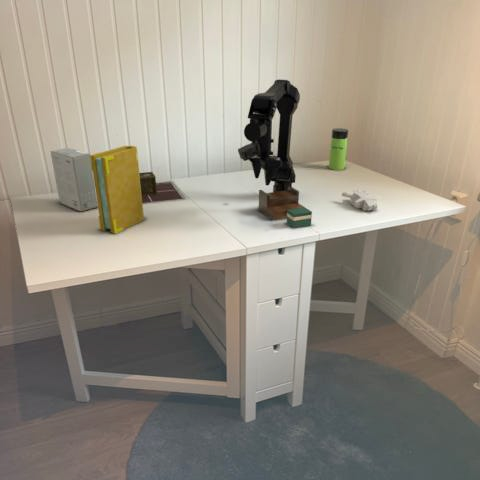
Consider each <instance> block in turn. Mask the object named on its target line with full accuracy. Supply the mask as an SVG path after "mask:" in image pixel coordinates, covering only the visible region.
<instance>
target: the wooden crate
mask: <svg viewBox="0 0 480 480" xmlns="http://www.w3.org/2000/svg"><path fill="white" fill-rule="evenodd" d="M139 175H140V184H141V194H142V197H144V196H154V195H157V194H158V189H157V183H158V182H157V179H156V177H157V176H156V175H155V174H154V172H153V171H146V172H139Z"/></svg>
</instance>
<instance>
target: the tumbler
mask: <svg viewBox="0 0 480 480" xmlns="http://www.w3.org/2000/svg"><path fill="white" fill-rule="evenodd" d="M348 137H349V129H347V128H342V127H341V128H340V127H336V128H332V129H331V139H330V147H329V148H330V149H329V150H330V151H329V160H328V161H329V162H328V169H330V170H333V171H342V170H344V169H345V167H346V166H345V165H346V156H347V147H348V146H347V145H348Z"/></svg>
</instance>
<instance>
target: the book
mask: <svg viewBox="0 0 480 480" xmlns="http://www.w3.org/2000/svg"><path fill="white" fill-rule="evenodd" d="M138 155H139V154H138V147H137V146H136V145H123V146H118V147H116V148H112V149H108V150H105V151H101V152H96V153H93V154H90V162H91V168H92V172H93V178H94V185H95V192H96V198H97V206H98V207H97V209H98V221H99V228H100V231H103V232H106V231H108V230H110V234H113V235H115V234H118V233H120V232H123V231H124V230H126V229H127V228H129V227H132V226H133V225H136V224H139V223H141V222H143V221H144V220H145V215H144V205H143V204H144V203H142V194H141V184H140V175H139V173H140V165H139V156H138Z"/></svg>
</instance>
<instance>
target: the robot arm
mask: <svg viewBox="0 0 480 480" xmlns="http://www.w3.org/2000/svg"><path fill="white" fill-rule="evenodd" d="M298 89H299V88H297V87H296V86H295V85H293V84H292V83H291V81H290V80H288V79H275V80H274V82H273V84H272V85H271V86H270V87H269V88H268V89H267V90H266V91H265V92H259V93H257V94H254V96H253V98H252V99H251V102H250V106H249V110H248V113H247V114H248V115H247V119H249V123H246V125H245V126H244V128H243V135H244V137H245V139H246V140H247V141H248V142H250V143H247V144H246V145H244V146H243V145H242V146H241V147H239V148H238V149H237V153H238V155H239V158H240V160H243V162H247V161H249V162H250V164H251V166H252V167H251V168H252V171H253V176H254V178H255V179H259V178H260V174H261V171H262V170H263V173H264V183H265V186H269V185H270V184H271V182H274V183H273V186H272V192H278V191H286V190H288V186H291V187H293V184H295V183H296V177H297V175H296V172H295V169H294V168H293V167H294V163H293V160H292V158H291V156H290V153H291V152H290V151H291V141H292V140H291V139H292V128H293V127H292V126H293V115H294V114H295V113H296V111H297V109H298V108H299V107H298V106H299V103H300V100H301V95H300V94H301V93H300V92H299V90H298ZM276 111H277V112H278V114H279V124H278V125H279V126H278V137H277V138H278V139H277V153H276V155H274V151H272V143H273V144H274V138H272V133H273V132H272V131H273V120H274V117H275V115H276V114H275V113H276Z"/></svg>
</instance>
